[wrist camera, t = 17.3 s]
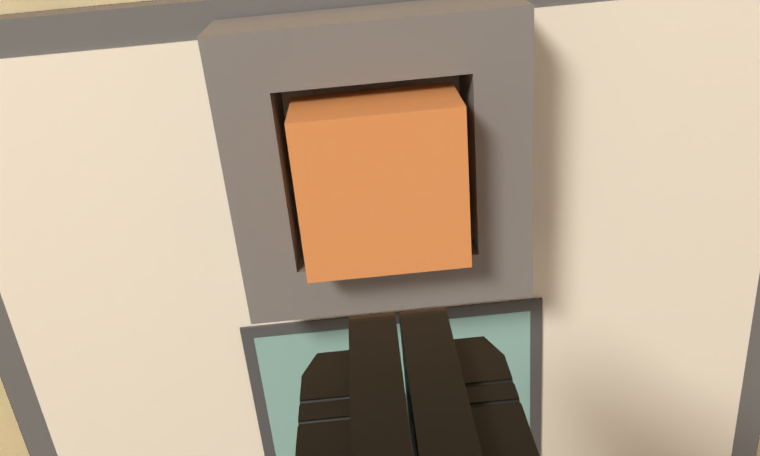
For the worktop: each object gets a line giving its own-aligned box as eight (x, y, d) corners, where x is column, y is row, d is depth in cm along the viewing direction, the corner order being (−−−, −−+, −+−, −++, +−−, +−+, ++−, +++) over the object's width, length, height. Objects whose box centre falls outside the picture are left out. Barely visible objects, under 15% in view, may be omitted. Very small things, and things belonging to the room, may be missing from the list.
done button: (458, 227, 21) (472, 267, 18) (310, 242, 21) (307, 283, 18) (451, 81, 19) (466, 106, 17) (290, 97, 19) (284, 124, 17)
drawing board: (727, 512, 30) (777, 593, 26) (94, 576, 30) (61, 666, 26) (818, -63, 20) (915, -54, 17) (-104, 24, 20) (-195, 51, 17)
